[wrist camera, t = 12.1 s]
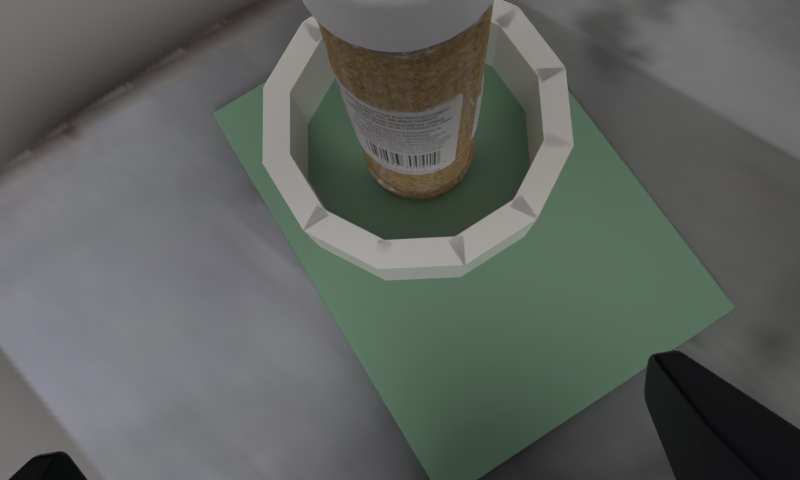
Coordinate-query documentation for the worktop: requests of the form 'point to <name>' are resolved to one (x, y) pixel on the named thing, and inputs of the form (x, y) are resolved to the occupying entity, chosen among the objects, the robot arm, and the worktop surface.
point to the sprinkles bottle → (410, 84)
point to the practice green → (476, 252)
